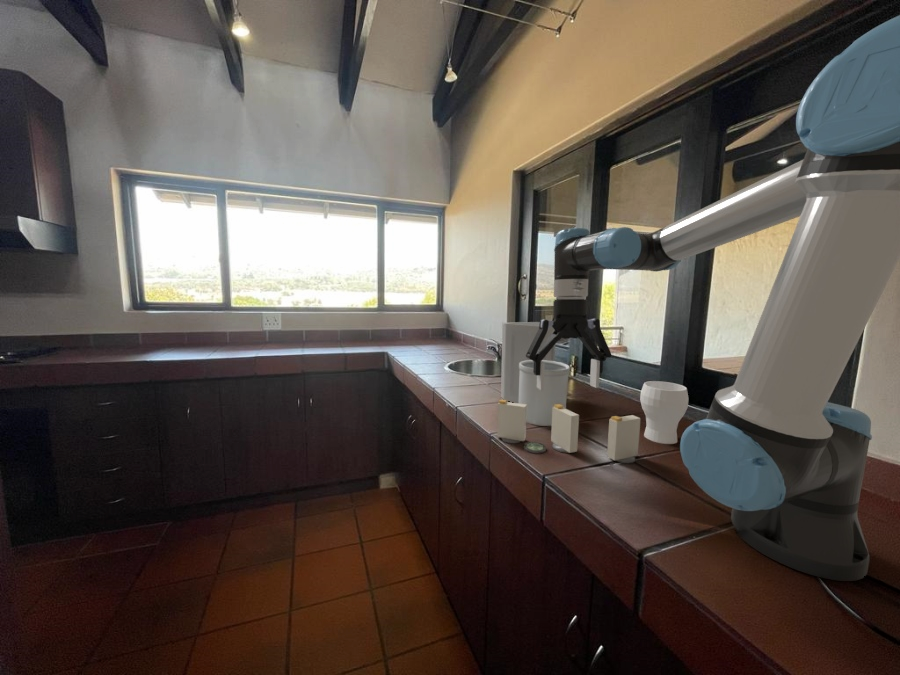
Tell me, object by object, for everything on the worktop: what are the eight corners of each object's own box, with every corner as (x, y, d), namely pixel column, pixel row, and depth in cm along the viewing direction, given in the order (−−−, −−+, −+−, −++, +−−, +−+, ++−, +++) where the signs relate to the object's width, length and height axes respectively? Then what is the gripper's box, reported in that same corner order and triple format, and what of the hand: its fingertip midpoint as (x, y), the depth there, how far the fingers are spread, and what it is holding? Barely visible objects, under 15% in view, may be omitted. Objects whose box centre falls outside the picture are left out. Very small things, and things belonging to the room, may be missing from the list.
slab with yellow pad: (643, 460, 79) (646, 417, 77) (619, 465, 76) (622, 422, 75) (624, 450, 84) (627, 410, 82) (601, 455, 81) (604, 414, 80)
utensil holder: (565, 414, 111) (568, 360, 109) (568, 432, 97) (571, 371, 95) (519, 410, 115) (520, 358, 113) (515, 426, 101) (517, 368, 99)
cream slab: (522, 445, 86) (524, 406, 85) (495, 440, 89) (496, 403, 88) (526, 437, 91) (527, 400, 90) (500, 433, 94) (501, 397, 92)
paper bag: (512, 409, 115) (515, 326, 112) (500, 396, 130) (501, 322, 126) (566, 407, 118) (570, 325, 114) (548, 394, 132) (551, 321, 129)
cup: (692, 451, 85) (698, 392, 83) (645, 447, 87) (649, 390, 85) (673, 434, 95) (678, 381, 93) (632, 431, 97) (635, 379, 95)
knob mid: (564, 455, 81) (566, 414, 79) (546, 443, 87) (547, 405, 86) (582, 452, 83) (584, 411, 81) (562, 440, 89) (564, 402, 88)
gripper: (523, 298, 75) (522, 393, 77) (630, 298, 78) (625, 389, 80) (513, 298, 82) (512, 385, 85) (611, 298, 85) (607, 382, 88)
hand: (567, 387), depth 83 cm, fingers open, 13 cm apart
